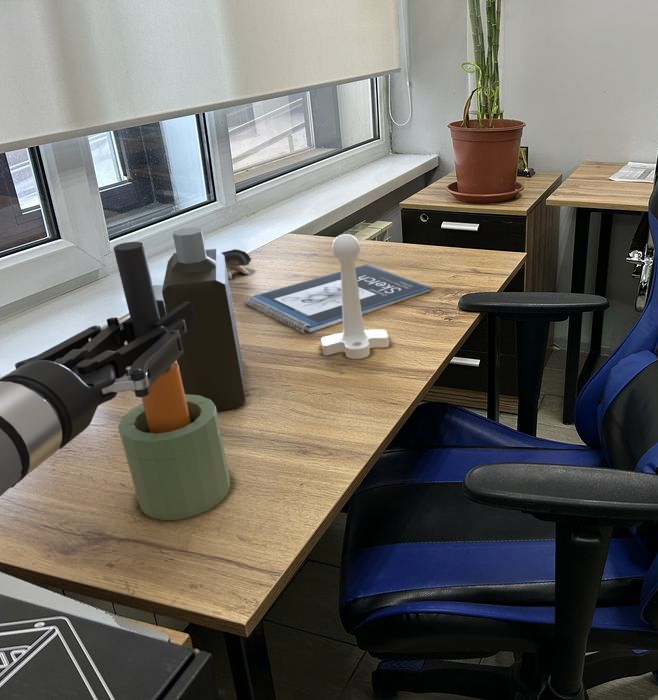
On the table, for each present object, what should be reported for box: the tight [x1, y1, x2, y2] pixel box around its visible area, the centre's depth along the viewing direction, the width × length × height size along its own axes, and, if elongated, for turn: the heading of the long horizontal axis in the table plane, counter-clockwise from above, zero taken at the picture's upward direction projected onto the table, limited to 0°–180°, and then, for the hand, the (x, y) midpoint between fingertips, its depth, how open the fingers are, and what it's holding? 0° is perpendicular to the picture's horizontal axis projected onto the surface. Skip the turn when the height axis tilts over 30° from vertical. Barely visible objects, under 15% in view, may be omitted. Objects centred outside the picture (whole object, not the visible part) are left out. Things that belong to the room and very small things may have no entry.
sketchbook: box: [245, 264, 432, 334], centre depth 141 cm, size 22×30×2 cm
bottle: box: [162, 226, 246, 413], centre depth 103 cm, size 8×16×25 cm, turn 18°
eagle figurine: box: [221, 248, 252, 280], centre depth 153 cm, size 8×7×9 cm
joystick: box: [320, 233, 390, 360], centre depth 115 cm, size 11×8×20 cm
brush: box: [113, 241, 191, 434], centre depth 76 cm, size 4×4×22 cm
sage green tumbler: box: [117, 394, 231, 521], centre depth 82 cm, size 10×10×11 cm
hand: (176, 312), depth 80 cm, fingers closed on brush, 3 cm apart
